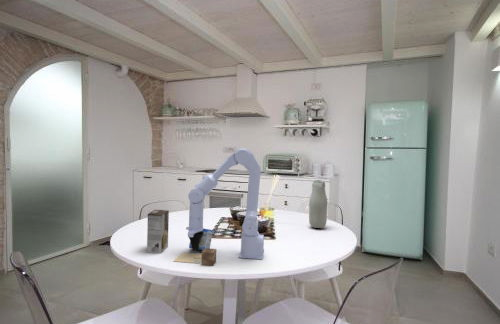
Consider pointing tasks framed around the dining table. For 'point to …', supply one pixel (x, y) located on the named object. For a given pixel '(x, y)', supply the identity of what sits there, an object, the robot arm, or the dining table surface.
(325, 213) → the grey bottle
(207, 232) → the medicine box
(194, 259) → the kraft envelope
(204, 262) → the walnut cube
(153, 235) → the coffee box
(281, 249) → the dining table surface
